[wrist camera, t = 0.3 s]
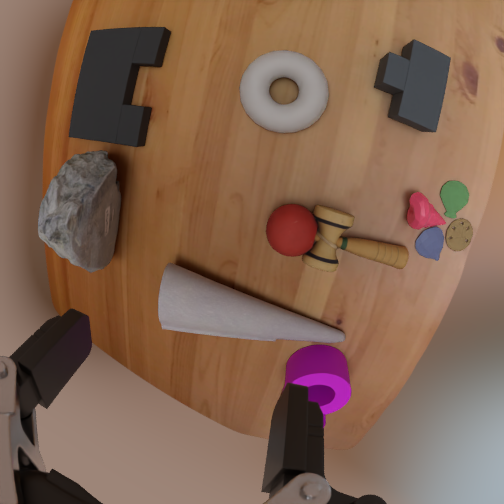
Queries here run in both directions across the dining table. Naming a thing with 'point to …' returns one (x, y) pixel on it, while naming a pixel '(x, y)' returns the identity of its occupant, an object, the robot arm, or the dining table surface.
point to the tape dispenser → (321, 376)
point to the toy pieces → (440, 221)
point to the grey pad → (415, 84)
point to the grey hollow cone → (230, 312)
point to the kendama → (325, 238)
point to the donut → (288, 115)
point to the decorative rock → (82, 211)
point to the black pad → (115, 84)
